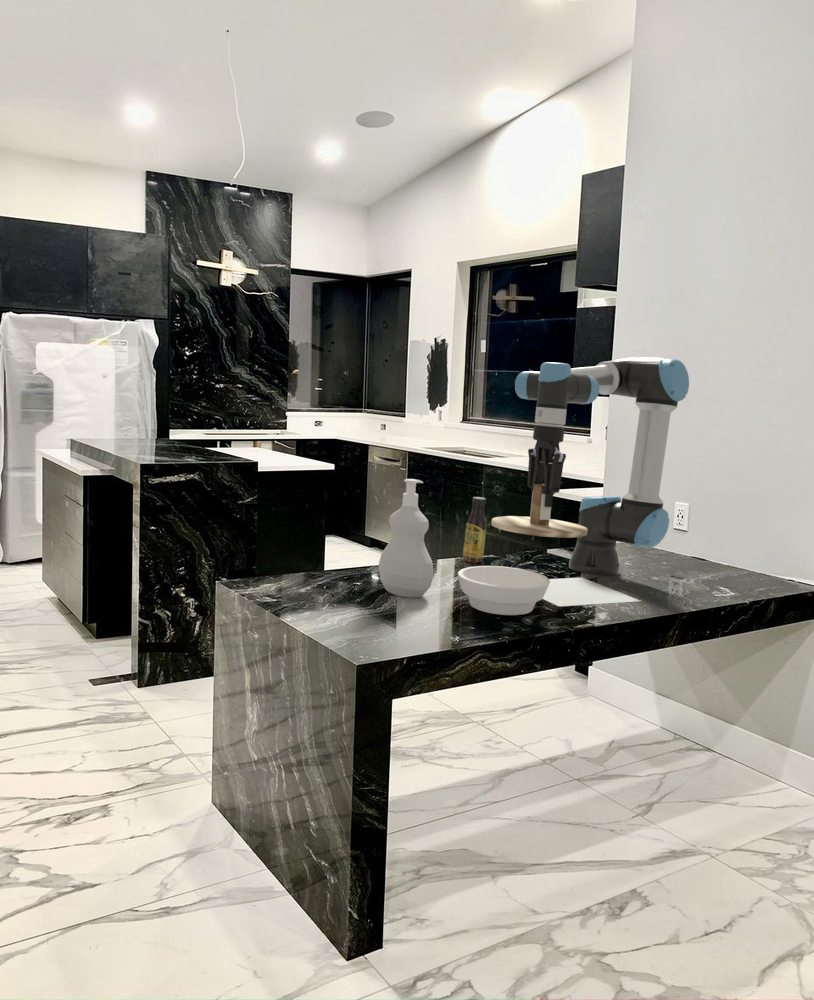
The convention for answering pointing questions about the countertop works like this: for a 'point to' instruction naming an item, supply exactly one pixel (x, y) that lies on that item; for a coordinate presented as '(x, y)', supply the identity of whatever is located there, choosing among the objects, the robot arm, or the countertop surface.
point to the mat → (582, 593)
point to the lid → (538, 522)
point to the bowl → (502, 589)
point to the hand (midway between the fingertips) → (539, 518)
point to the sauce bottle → (475, 532)
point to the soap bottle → (407, 549)
